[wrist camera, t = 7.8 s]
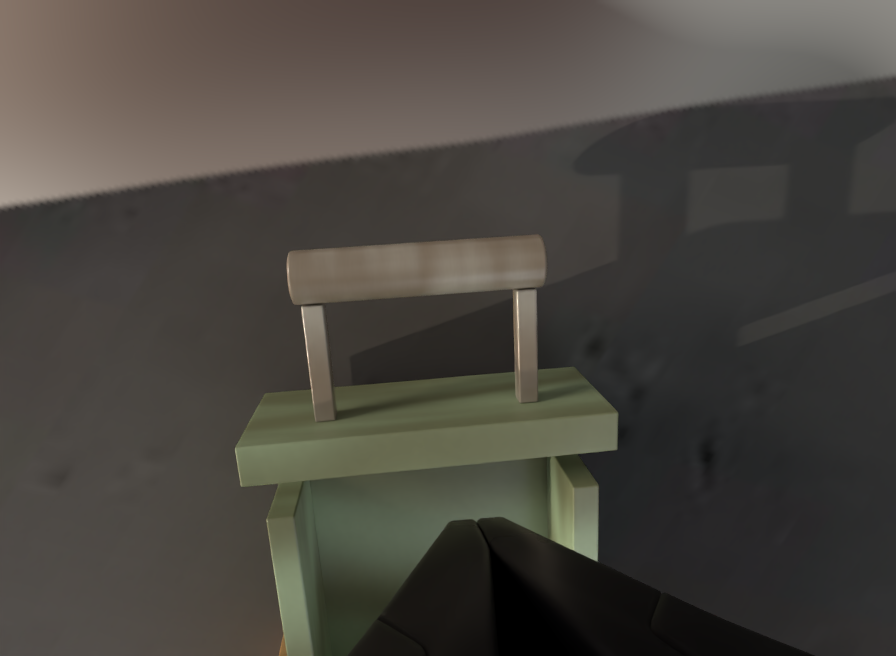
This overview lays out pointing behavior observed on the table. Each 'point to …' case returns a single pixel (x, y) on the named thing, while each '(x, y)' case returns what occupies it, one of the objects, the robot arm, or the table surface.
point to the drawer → (414, 441)
